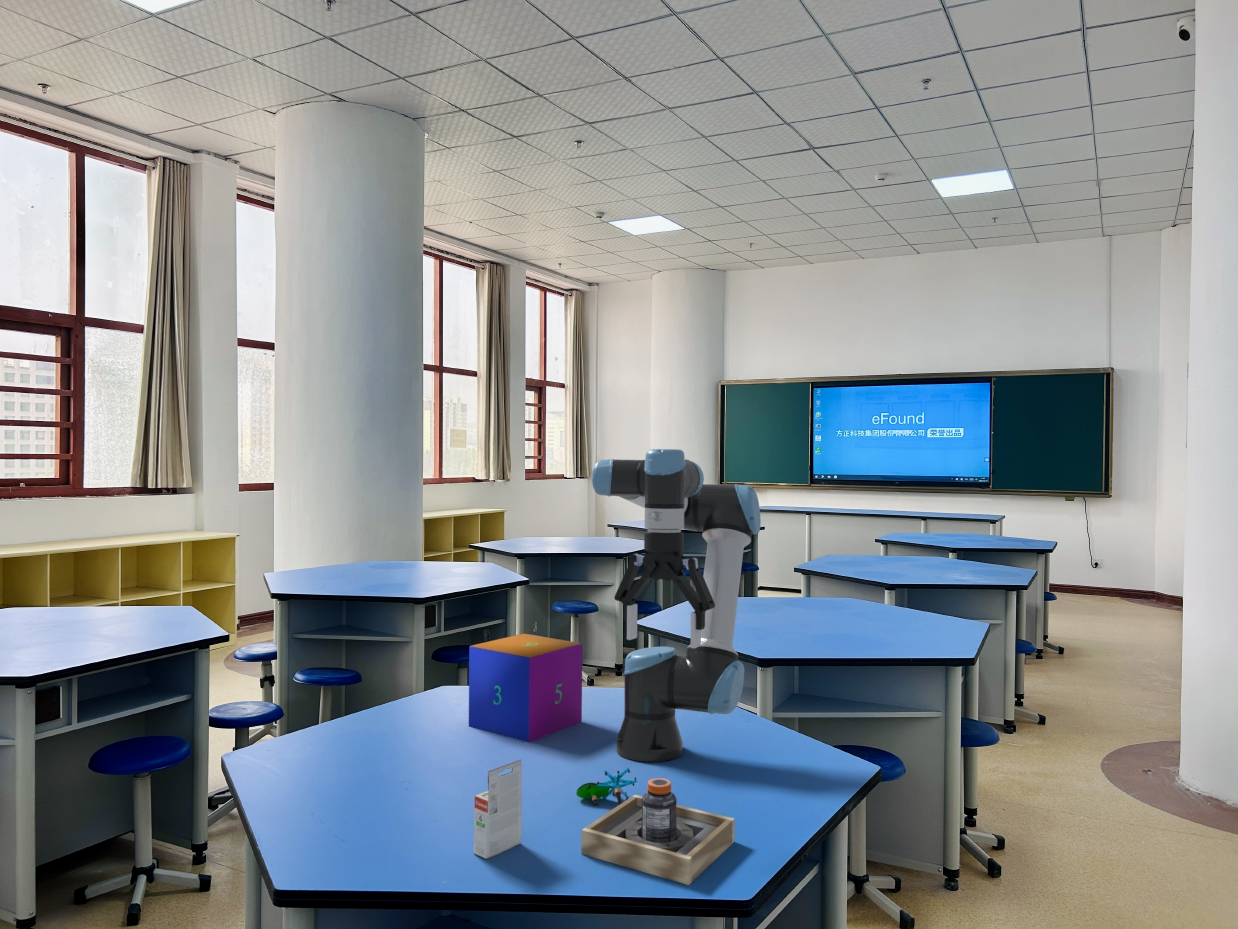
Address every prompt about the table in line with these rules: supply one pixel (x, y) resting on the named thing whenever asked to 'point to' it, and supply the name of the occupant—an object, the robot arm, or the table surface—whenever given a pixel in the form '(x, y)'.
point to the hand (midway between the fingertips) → (663, 642)
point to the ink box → (499, 812)
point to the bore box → (674, 860)
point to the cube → (525, 686)
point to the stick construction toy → (605, 788)
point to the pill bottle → (659, 812)
